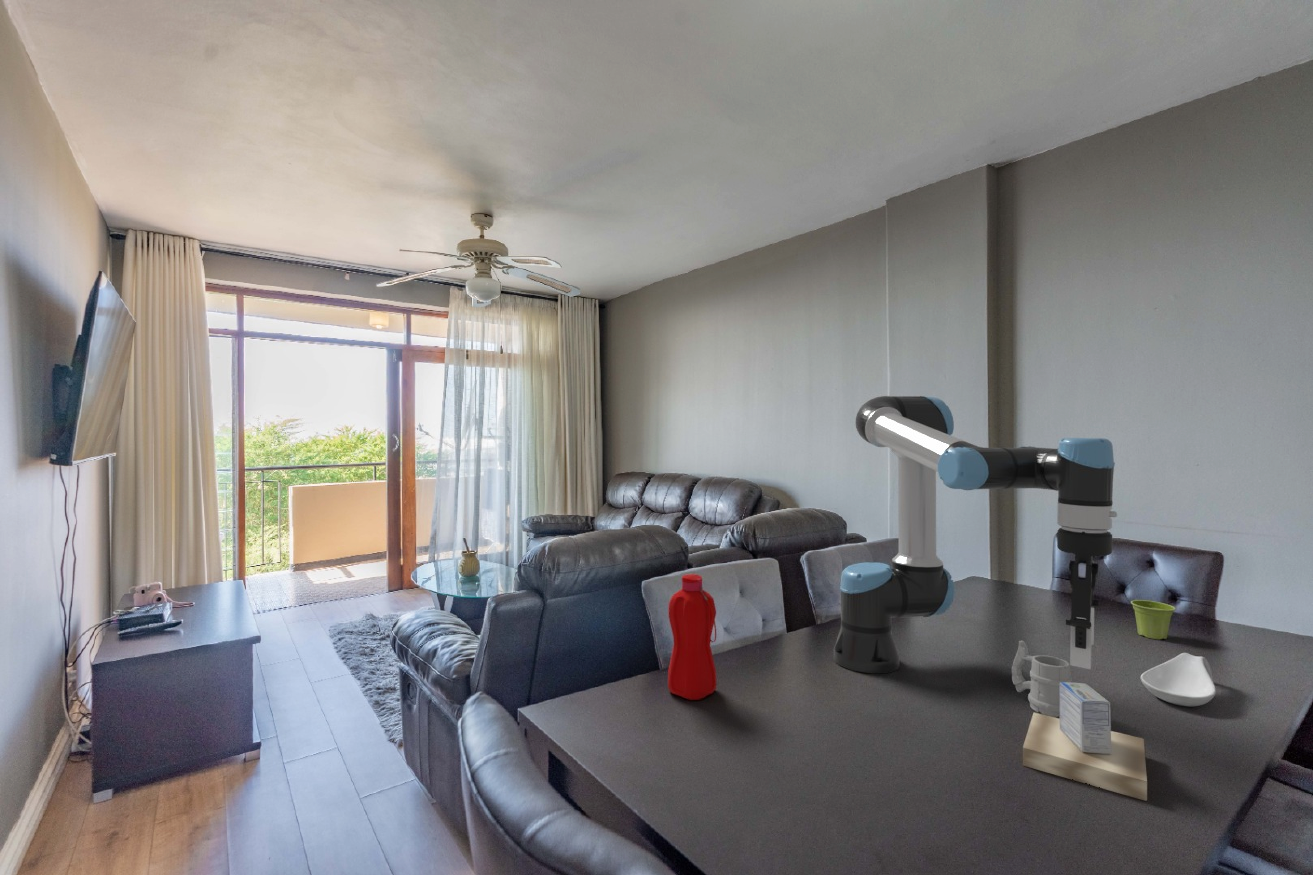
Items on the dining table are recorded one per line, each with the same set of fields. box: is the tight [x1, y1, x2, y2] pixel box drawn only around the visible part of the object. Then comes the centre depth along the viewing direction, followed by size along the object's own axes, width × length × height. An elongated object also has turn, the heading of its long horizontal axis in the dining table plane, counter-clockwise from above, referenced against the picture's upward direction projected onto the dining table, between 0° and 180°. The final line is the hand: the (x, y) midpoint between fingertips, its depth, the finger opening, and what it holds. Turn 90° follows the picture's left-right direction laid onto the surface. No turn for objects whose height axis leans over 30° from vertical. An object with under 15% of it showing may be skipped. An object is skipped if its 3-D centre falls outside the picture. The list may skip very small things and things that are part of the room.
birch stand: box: [1022, 712, 1148, 802], centre depth 101 cm, size 16×16×3 cm
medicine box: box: [1059, 681, 1112, 755], centre depth 101 cm, size 8×4×9 cm, turn 169°
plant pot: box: [1130, 599, 1176, 640], centre depth 164 cm, size 9×9×9 cm
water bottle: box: [667, 573, 717, 701], centre depth 128 cm, size 9×11×25 cm
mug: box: [1011, 639, 1073, 718], centre depth 122 cm, size 8×12×12 cm, turn 25°
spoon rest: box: [1140, 652, 1217, 708], centre depth 128 cm, size 24×12×7 cm, turn 128°
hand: (1082, 654), depth 101 cm, fingers open, 13 cm apart
